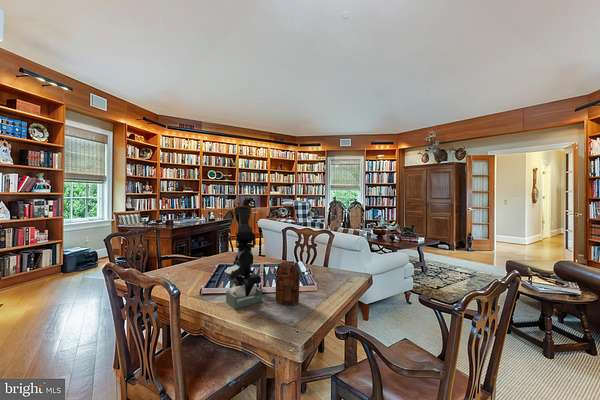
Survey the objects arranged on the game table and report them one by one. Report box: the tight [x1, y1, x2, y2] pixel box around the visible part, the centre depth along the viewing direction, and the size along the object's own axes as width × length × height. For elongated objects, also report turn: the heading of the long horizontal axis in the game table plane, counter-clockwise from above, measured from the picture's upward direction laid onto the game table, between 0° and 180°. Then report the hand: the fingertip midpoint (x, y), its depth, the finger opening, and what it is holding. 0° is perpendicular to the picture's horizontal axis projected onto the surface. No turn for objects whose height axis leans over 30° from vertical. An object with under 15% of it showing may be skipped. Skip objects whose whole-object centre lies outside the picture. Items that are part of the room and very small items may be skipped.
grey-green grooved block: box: [225, 286, 263, 310], centre depth 126 cm, size 13×8×5 cm, turn 130°
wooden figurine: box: [275, 260, 301, 306], centre depth 126 cm, size 12×6×18 cm, turn 72°
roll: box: [231, 284, 257, 299], centre depth 125 cm, size 9×5×5 cm, turn 130°
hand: (244, 294), depth 126 cm, fingers closed on roll, 5 cm apart
